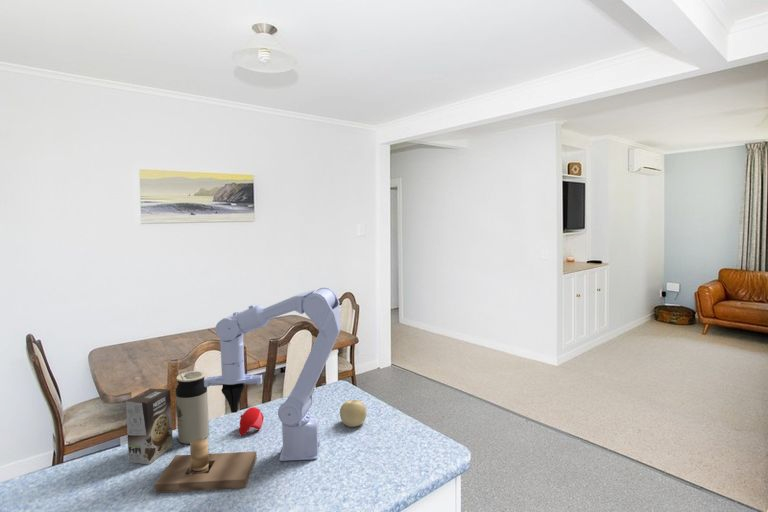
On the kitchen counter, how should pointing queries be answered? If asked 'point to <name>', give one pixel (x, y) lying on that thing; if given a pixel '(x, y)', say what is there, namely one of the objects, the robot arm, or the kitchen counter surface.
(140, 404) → the coffee box
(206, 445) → the oak peg
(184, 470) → the walnut board
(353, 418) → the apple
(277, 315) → the robot arm
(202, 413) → the travel mug
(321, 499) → the kitchen counter surface
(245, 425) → the cap
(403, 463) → the kitchen counter surface
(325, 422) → the kitchen counter surface
